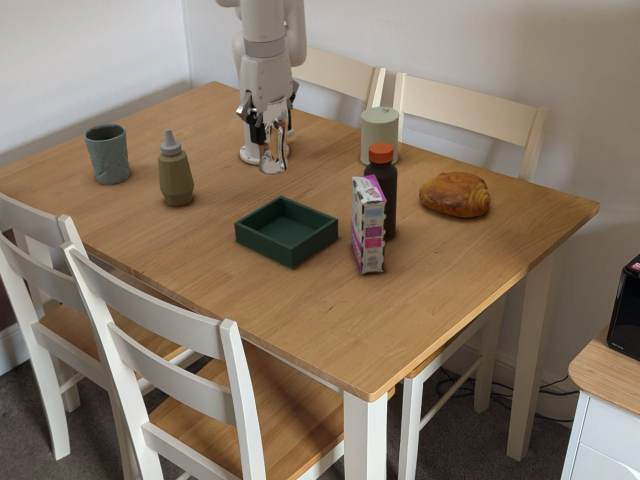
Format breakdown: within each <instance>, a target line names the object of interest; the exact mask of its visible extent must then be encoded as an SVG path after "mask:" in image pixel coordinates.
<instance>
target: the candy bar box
mask: <svg viewBox="0 0 640 480" xmlns="http://www.w3.org/2000/svg"><path fill="white" fill-rule="evenodd" d="M386 203H387V201H386V199H385V196H384V194H383V192H382V190H381V188H380V186H379V183H378V181H377V179H376V176H375V175H365V176H364V175H358V176H357V175H355V176H351V237H350V238H351V239H350V240H351V242H350V243H351V244H350V245H351V249H352V251H353V255H354V257H355V260H356V263H357V266H358V269H359V272H360V275H369V274H379V273H384V272H385V251H386V249H385V248H386V240H385V229H386Z"/></svg>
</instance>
